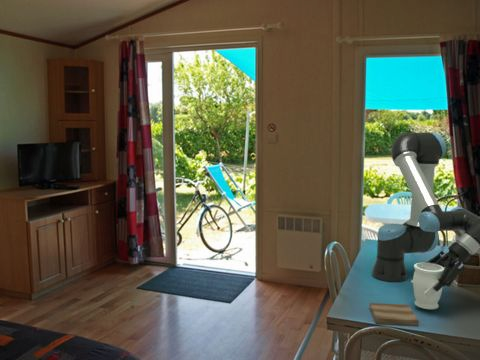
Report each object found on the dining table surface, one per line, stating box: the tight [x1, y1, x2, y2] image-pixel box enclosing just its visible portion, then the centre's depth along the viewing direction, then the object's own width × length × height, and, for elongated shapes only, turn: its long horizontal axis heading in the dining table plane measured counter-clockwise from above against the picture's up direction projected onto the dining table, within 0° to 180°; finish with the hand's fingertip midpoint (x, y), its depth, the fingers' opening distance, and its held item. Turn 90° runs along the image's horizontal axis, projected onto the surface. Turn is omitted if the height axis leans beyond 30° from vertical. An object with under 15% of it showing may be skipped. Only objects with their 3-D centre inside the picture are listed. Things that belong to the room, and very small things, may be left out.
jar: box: [412, 262, 445, 310], centre depth 173 cm, size 11×10×15 cm
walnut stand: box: [369, 302, 420, 327], centre depth 167 cm, size 14×14×2 cm
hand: (419, 289), depth 173 cm, fingers closed on jar, 10 cm apart
